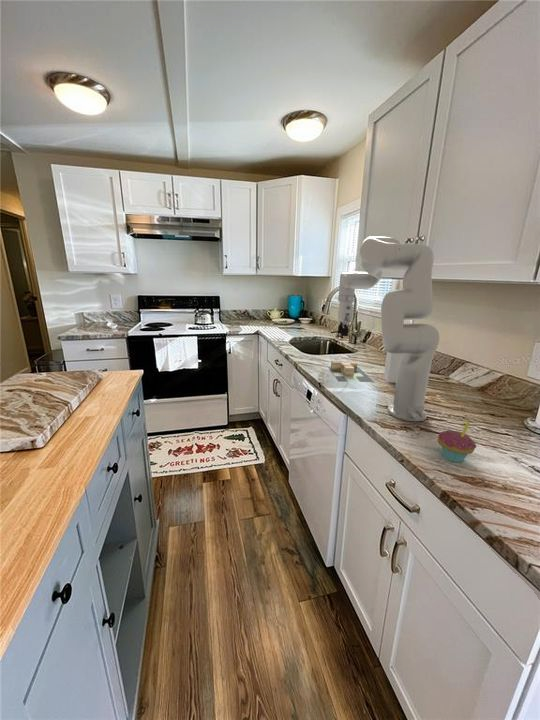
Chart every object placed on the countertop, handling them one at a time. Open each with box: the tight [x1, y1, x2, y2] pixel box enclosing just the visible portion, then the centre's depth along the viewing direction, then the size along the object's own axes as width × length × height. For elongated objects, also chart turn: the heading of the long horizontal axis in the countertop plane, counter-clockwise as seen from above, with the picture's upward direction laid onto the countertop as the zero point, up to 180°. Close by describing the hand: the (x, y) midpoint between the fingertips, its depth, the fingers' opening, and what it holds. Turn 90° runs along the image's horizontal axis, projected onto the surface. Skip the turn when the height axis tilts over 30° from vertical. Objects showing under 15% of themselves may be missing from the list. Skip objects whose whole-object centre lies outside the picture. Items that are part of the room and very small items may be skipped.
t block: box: [330, 360, 358, 376], centre depth 144 cm, size 12×12×4 cm
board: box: [327, 366, 375, 383], centre depth 142 cm, size 22×16×1 cm
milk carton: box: [383, 351, 405, 384], centre depth 133 cm, size 7×7×19 cm
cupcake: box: [436, 419, 477, 463], centre depth 78 cm, size 9×8×12 cm
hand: (342, 334), depth 151 cm, fingers open, 6 cm apart
